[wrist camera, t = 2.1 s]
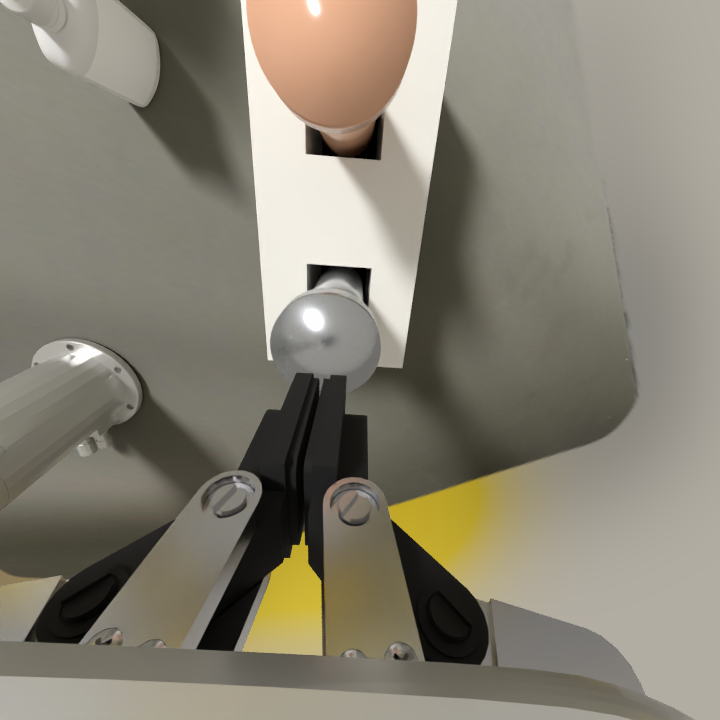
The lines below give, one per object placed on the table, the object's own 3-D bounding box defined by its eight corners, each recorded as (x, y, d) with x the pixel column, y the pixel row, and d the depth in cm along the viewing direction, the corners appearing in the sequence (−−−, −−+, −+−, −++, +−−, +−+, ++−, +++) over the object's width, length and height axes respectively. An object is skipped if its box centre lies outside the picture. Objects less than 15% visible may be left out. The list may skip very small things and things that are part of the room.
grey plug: (368, 317, 29) (375, 399, 17) (310, 313, 29) (273, 393, 16) (373, 257, 27) (386, 299, 14) (310, 252, 26) (266, 291, 14)
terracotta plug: (380, 172, 24) (404, 131, 11) (309, 166, 24) (254, 118, 11) (388, 80, 21) (431, -106, 9) (309, 72, 21) (236, -128, 9)
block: (391, 328, 36) (402, 368, 27) (290, 322, 36) (268, 360, 27) (424, 61, 25) (460, -20, 16) (281, 48, 25) (237, -43, 16)
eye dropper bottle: (182, 70, 26) (54, -31, 15) (139, 116, 27) (-6, 55, 16) (139, 10, 24) (-39, -152, 13) (97, 62, 25) (-97, -46, 15)
